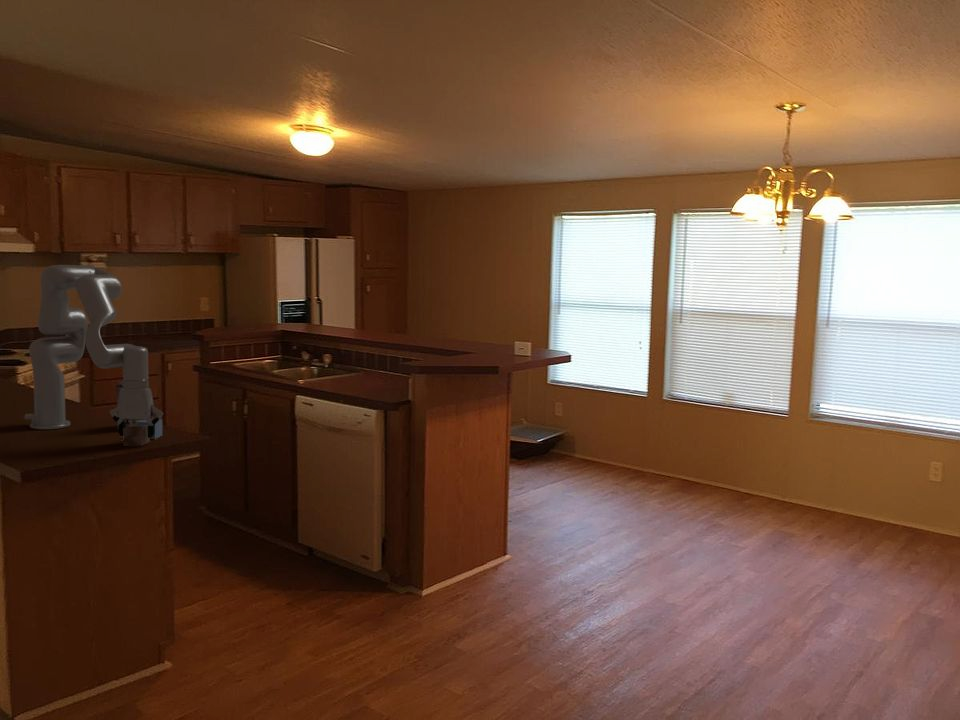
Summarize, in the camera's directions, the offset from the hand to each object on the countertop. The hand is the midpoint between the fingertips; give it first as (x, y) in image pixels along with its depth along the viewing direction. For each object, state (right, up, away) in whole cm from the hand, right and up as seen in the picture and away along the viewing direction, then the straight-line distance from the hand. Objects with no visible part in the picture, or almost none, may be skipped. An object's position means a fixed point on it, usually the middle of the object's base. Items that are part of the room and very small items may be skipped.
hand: (136, 436), depth 251 cm
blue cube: (0, -2, +10) cm, 10 cm away
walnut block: (0, -3, 0) cm, 3 cm away
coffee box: (-12, +1, +24) cm, 27 cm away
